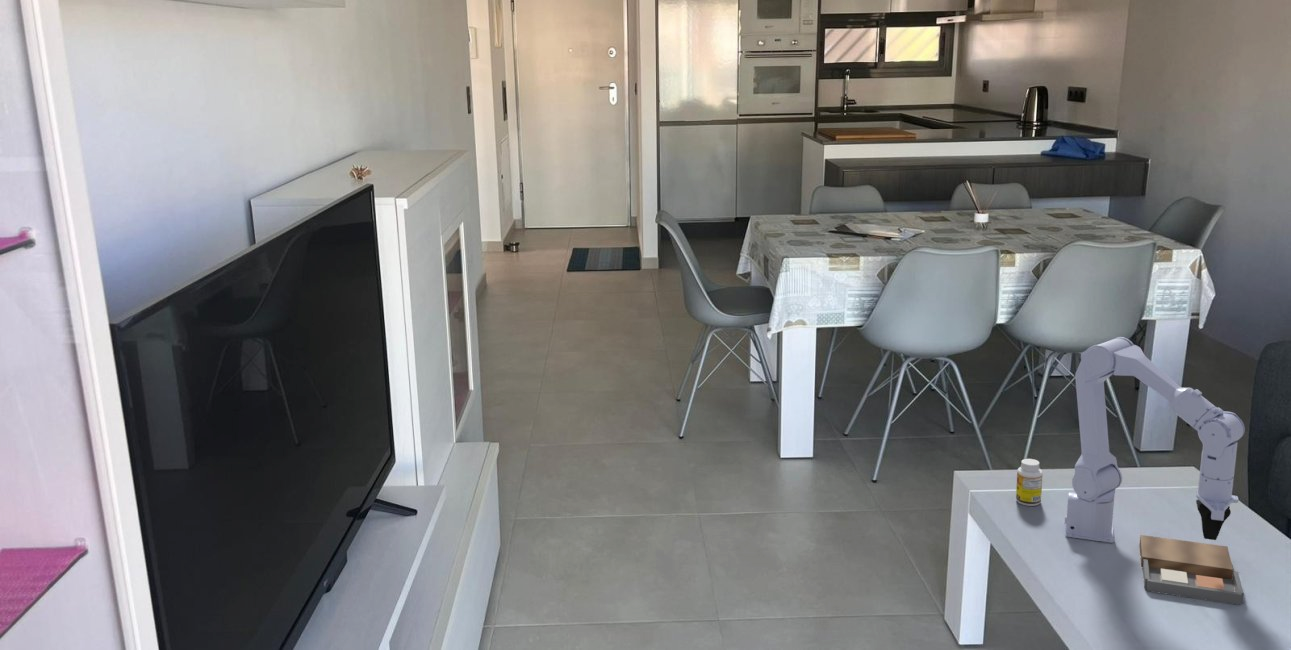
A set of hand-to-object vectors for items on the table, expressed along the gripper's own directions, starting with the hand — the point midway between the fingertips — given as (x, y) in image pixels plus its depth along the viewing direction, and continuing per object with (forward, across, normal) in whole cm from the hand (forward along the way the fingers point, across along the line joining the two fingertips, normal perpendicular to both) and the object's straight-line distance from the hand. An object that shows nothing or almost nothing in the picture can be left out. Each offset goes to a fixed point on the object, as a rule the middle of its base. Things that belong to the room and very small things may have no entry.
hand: (1209, 537), depth 191 cm
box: (+8, -5, +3) cm, 10 cm away
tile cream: (+6, -6, +6) cm, 11 cm away
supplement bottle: (+9, +24, +34) cm, 43 cm away
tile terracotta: (+6, -6, 0) cm, 9 cm away
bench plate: (+8, +4, +4) cm, 10 cm away
